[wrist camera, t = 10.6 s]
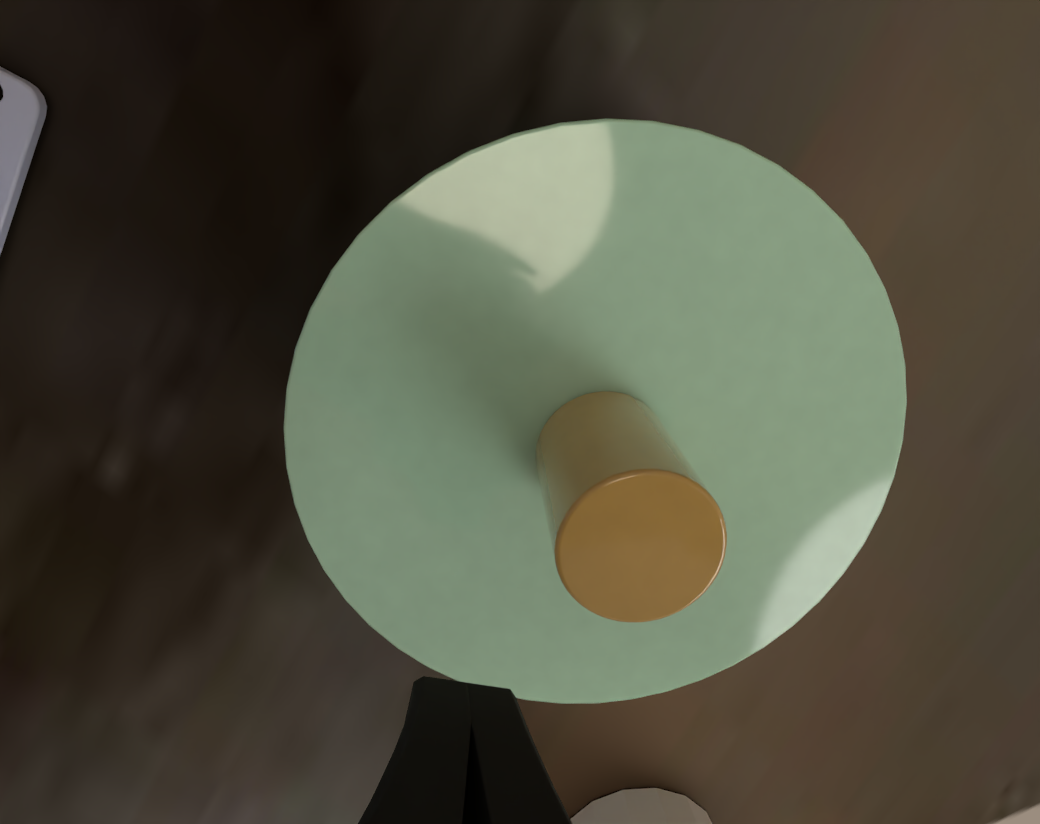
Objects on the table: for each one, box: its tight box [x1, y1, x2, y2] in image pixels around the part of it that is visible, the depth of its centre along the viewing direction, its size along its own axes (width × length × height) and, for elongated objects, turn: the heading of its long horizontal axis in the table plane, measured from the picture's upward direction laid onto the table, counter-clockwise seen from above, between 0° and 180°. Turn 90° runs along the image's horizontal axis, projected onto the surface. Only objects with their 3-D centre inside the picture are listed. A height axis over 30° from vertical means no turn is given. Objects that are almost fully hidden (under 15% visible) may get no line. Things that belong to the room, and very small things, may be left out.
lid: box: [283, 118, 907, 704], centre depth 12 cm, size 11×11×4 cm
